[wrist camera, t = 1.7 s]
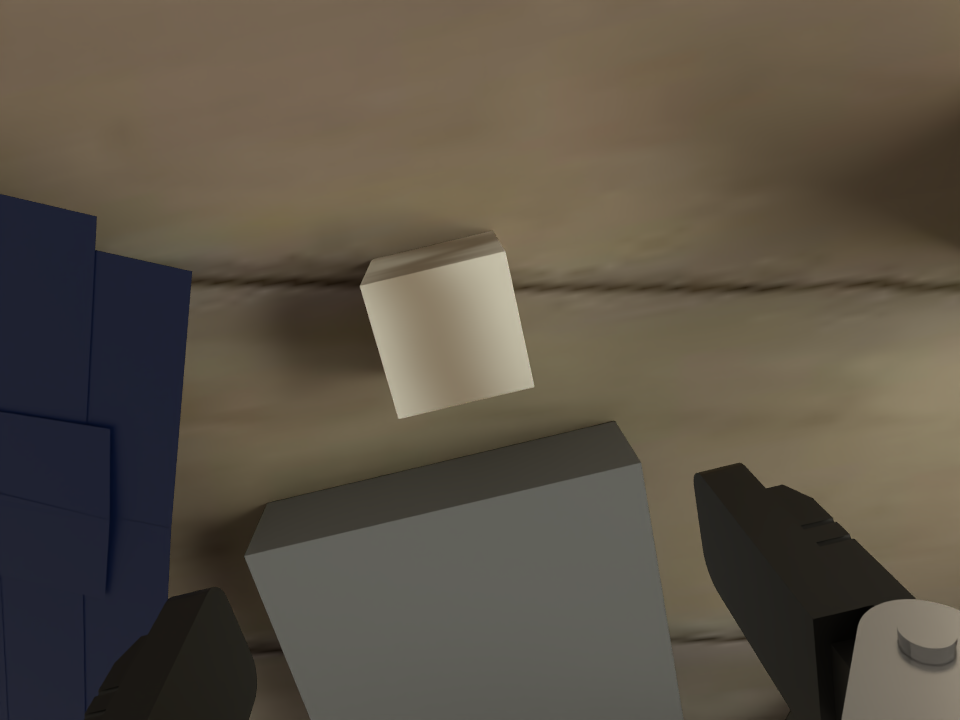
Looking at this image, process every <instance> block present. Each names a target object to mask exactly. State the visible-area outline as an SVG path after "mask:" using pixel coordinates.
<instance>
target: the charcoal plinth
mask: <svg viewBox="0 0 960 720" xmlns="http://www.w3.org/2000/svg"><path fill="white" fill-rule="evenodd" d="M244 557H245V560H246V562H247V564H248V567H249V569H250V572H251V574H252V577H253V579H254V582H255V584H256V587H257V589H258V592H259V594H260V596H261V599H262V601H263V604H264V606H265V609H266V611H267V614H268V616H269V619H270V621H271V624H272V626H273V628H274V631H275V633H276V636H277V638H278V641H279V643H280V646H281V648H282V651H283V653H284V656H285V658H286V660H287V663H288V665H289V668H290V670H291V673H292V675H293V678H294V680H295V683H296V685H297V688H298V690H299V692H300V695H301V697H302V700H303V702H304V705H305V707H306V710H307V712H308V715H309V717H310V720H684V719H683V713H682V707H681V701H680V695H679V689H678V683H677V677H676V671H675V665H674V659H673V653H672V647H671V641H670V635H669V629H668V623H667V617H666V611H665V605H664V598H663V592H662V586H661V580H660V574H659V568H658V562H657V556H656V550H655V544H654V538H653V532H652V526H651V520H650V514H649V508H648V502H647V496H646V490H645V484H644V478H643V472H642V466H641V462H640V460H639V459H638V457H637V455H636V454H635V452H634V451H633V449H632V447H631V446H630V444H629V443H628V441H627V439H626V438H625V436H624V435H623V433H622V431H621V430H620V428H619V427H618V425H617V423H616V422H615V421H613V422H609V423H605V424H601V425H596V426H592V427H588V428H584V429H580V430H575V431H571V432H567V433H563V434H558V435H554V436H550V437H546V438H541V439H537V440H533V441H529V442H525V443H520V444H516V445H512V446H508V447H503V448H499V449H495V450H491V451H486V452H482V453H478V454H474V455H469V456H465V457H461V458H457V459H453V460H448V461H444V462H440V463H436V464H431V465H427V466H423V467H419V468H414V469H410V470H406V471H402V472H398V473H393V474H389V475H385V476H381V477H376V478H372V479H368V480H364V481H359V482H355V483H351V484H347V485H342V486H338V487H334V488H330V489H326V490H321V491H317V492H313V493H309V494H304V495H300V496H296V497H292V498H287V499H283V500H279V501H275V502H271V503H267V505H266V507H265V509H264V512H263V514H262V516H261V519H260V521H259V523H258V526H257V528H256V530H255V532H254V535H253V537H252V539H251V542H250V544H249V546H248V548H247V551H246V553H245V555H244Z"/></svg>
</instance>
